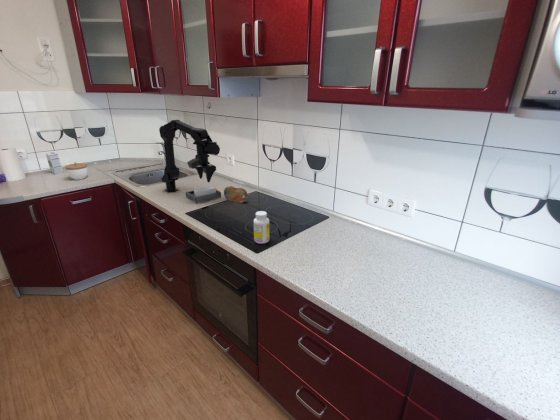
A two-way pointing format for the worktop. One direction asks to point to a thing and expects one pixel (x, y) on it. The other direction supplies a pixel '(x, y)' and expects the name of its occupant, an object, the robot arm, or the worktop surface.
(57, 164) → the syrup box
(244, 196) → the tin
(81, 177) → the lidded bowl
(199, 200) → the box
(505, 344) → the worktop surface
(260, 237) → the supplement bottle
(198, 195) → the panel
